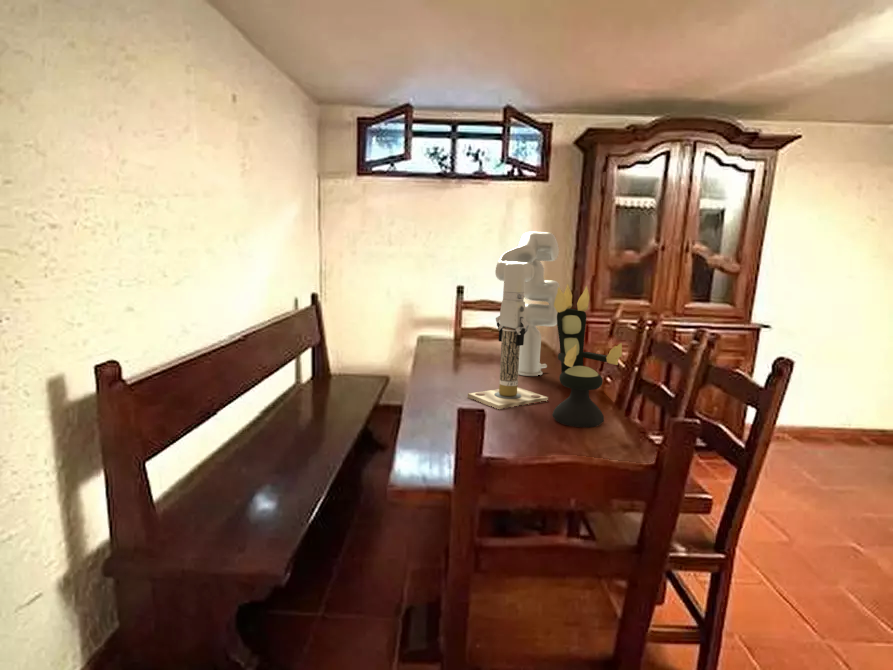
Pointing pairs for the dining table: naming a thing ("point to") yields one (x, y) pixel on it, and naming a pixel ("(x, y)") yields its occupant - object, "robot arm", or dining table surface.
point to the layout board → (506, 398)
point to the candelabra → (578, 363)
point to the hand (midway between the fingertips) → (510, 343)
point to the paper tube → (509, 363)
